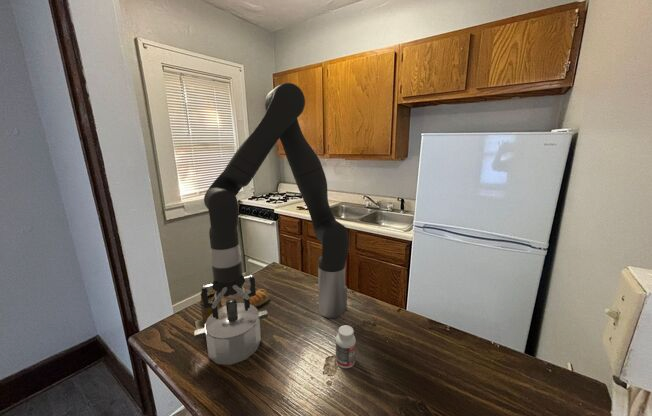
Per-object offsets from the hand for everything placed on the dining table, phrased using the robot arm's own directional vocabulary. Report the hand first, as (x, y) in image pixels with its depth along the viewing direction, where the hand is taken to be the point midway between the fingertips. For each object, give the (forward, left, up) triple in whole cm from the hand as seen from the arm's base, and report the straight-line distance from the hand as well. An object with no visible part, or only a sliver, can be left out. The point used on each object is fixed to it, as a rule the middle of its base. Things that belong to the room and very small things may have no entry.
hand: (231, 313), depth 72 cm
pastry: (-10, -18, -11) cm, 24 cm away
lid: (0, 0, -4) cm, 4 cm away
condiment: (+6, -13, -11) cm, 18 cm away
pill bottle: (-26, +20, -11) cm, 34 cm away
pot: (0, 0, -10) cm, 10 cm away
